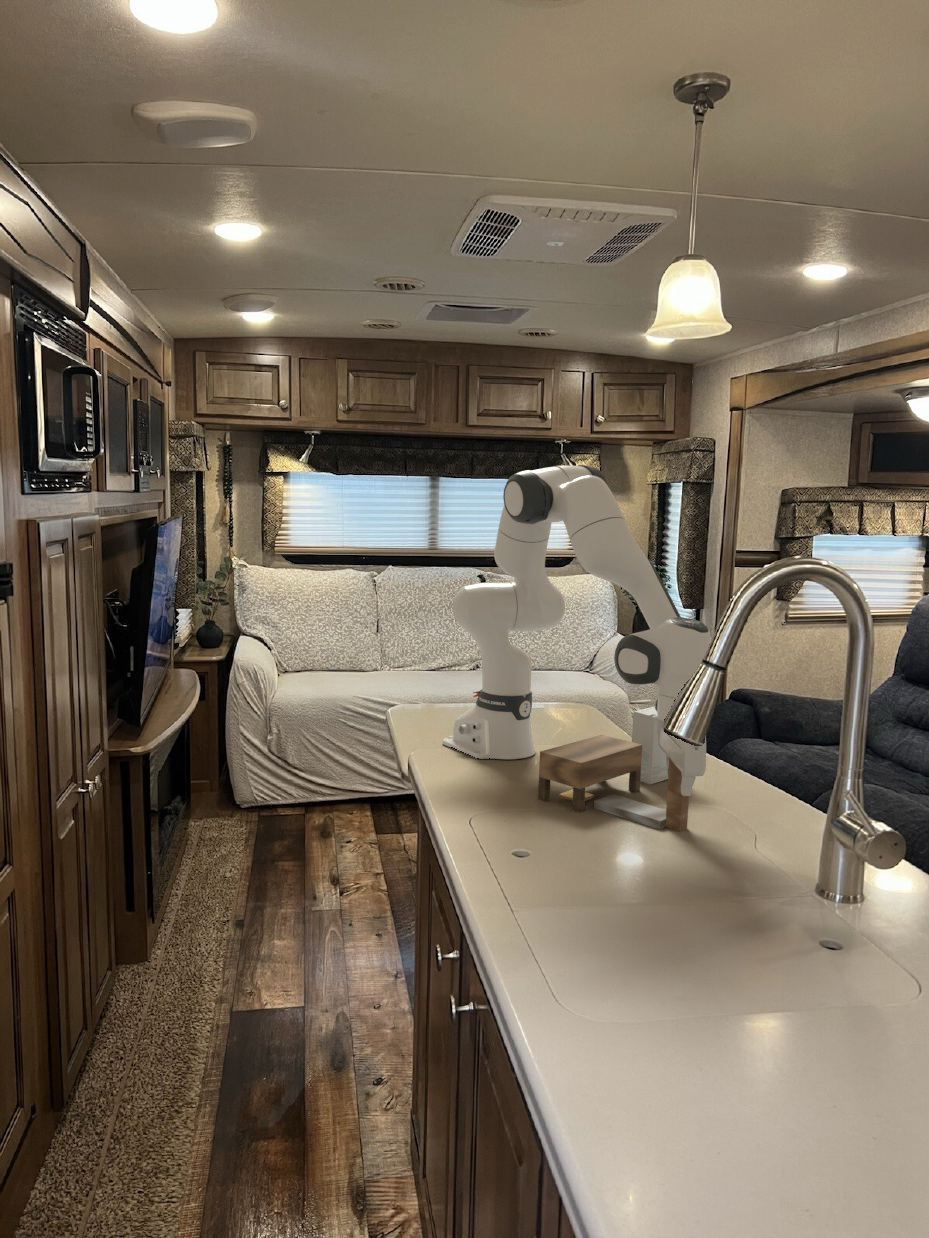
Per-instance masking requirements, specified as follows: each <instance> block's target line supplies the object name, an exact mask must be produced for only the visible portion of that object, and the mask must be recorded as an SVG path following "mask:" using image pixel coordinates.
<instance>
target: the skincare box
mask: <svg viewBox="0 0 929 1238" xmlns="http://www.w3.org/2000/svg"><path fill="white" fill-rule="evenodd" d="M631 731H632V732H631V742H633V743H637V744H641V745H642V759H641V777H640V783H641V782H642V783H644V784H647V785H653V784H656V783H659V782H663V781H666V780H668V777H667V764H666V754H665V753H664V751H663V750H662V749H661V748H660V747H659V743H658V732H657V711H656V710H655V705H654V706H650V707H645V708H642V709H639V710H633V712H632V730H631Z"/></svg>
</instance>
